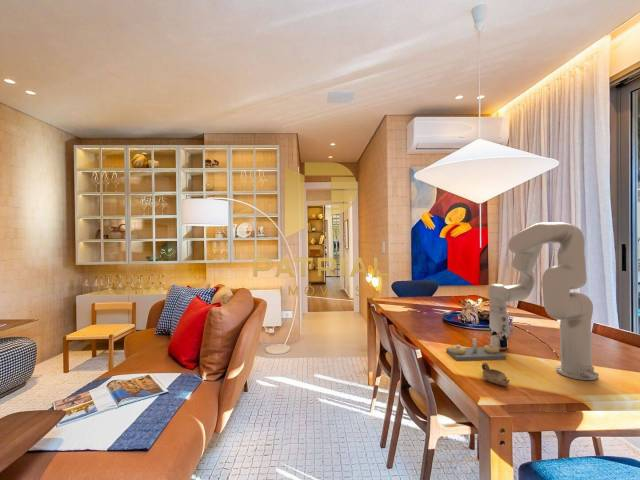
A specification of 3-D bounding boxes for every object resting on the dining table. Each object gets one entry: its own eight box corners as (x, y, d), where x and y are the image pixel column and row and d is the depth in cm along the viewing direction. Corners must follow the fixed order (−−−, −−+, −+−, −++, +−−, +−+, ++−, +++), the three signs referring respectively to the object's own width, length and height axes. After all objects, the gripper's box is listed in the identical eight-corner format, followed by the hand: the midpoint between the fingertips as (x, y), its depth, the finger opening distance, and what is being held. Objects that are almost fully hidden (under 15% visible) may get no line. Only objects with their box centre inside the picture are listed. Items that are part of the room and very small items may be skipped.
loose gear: (511, 349, 155) (510, 338, 155) (495, 349, 155) (495, 339, 155) (502, 344, 162) (502, 334, 162) (488, 344, 162) (487, 334, 162)
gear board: (506, 359, 142) (505, 342, 142) (456, 360, 143) (456, 343, 143) (492, 349, 154) (491, 334, 154) (446, 351, 155) (445, 335, 155)
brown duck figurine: (515, 388, 115) (514, 374, 115) (495, 389, 115) (494, 375, 115) (492, 373, 128) (492, 361, 128) (474, 374, 128) (474, 362, 128)
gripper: (516, 312, 150) (517, 350, 150) (496, 305, 167) (497, 339, 167) (499, 313, 150) (501, 351, 150) (481, 305, 167) (482, 339, 167)
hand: (499, 344), depth 158 cm, fingers closed on loose gear, 7 cm apart
